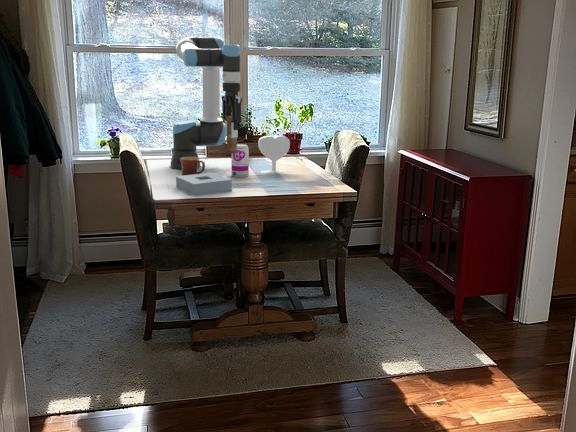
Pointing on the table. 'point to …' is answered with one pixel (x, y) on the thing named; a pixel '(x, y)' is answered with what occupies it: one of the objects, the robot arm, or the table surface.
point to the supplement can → (240, 161)
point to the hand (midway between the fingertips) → (231, 136)
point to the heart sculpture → (274, 149)
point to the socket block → (203, 183)
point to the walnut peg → (230, 138)
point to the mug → (191, 165)
